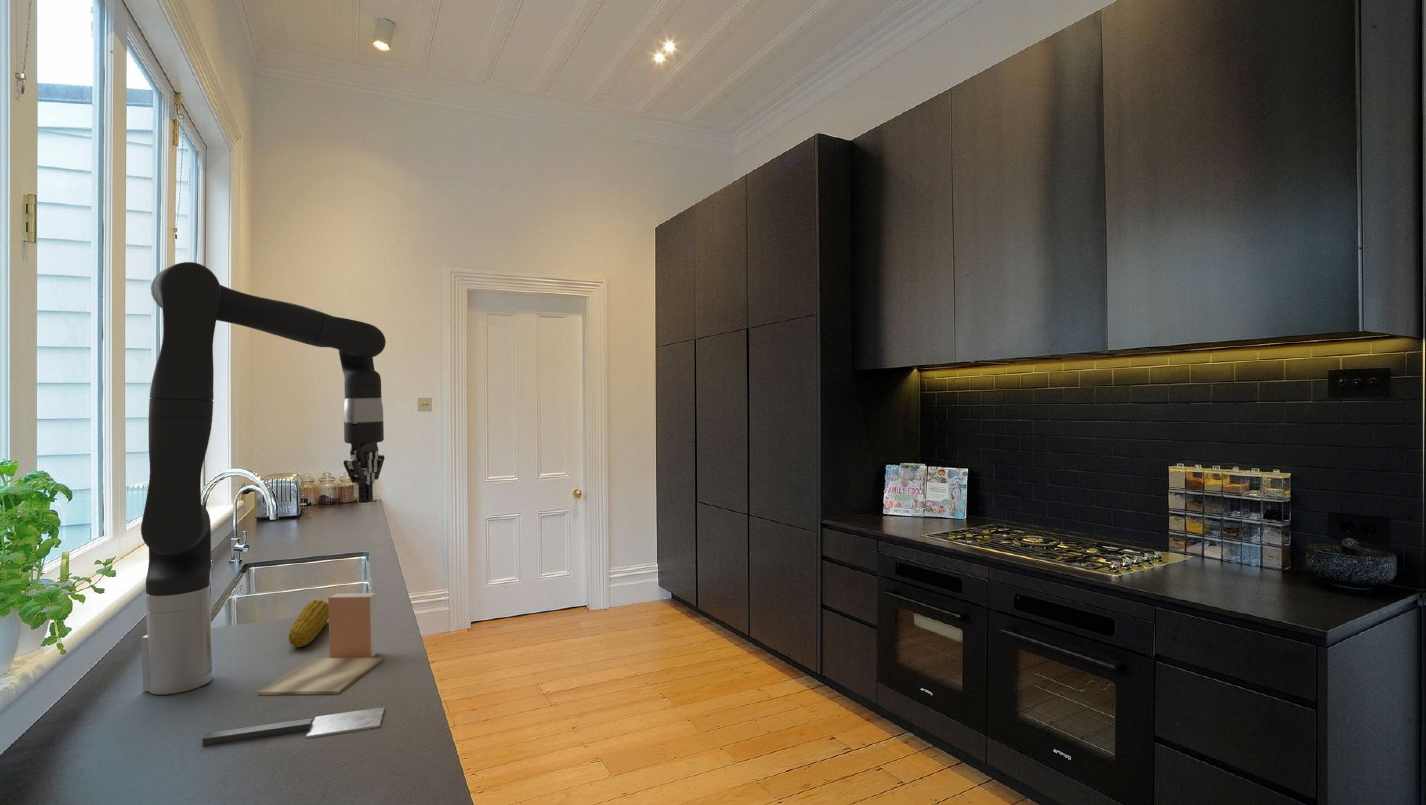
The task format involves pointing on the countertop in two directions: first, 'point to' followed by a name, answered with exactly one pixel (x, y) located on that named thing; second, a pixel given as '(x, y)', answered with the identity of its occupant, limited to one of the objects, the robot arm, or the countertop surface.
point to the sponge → (352, 625)
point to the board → (321, 676)
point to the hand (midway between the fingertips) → (365, 502)
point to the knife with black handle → (302, 727)
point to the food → (309, 623)
